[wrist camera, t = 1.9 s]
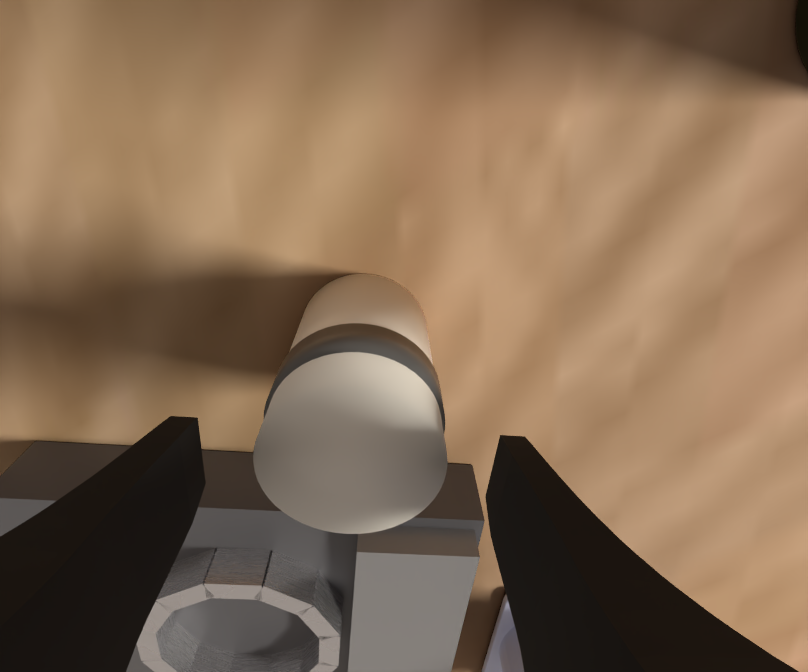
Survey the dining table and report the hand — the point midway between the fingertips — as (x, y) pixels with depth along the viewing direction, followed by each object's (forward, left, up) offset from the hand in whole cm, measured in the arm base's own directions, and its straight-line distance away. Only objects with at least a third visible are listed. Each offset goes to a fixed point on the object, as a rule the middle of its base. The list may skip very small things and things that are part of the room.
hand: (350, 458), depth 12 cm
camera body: (+4, +12, -7) cm, 14 cm away
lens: (0, 0, -7) cm, 7 cm away
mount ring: (+4, +12, -4) cm, 13 cm away
